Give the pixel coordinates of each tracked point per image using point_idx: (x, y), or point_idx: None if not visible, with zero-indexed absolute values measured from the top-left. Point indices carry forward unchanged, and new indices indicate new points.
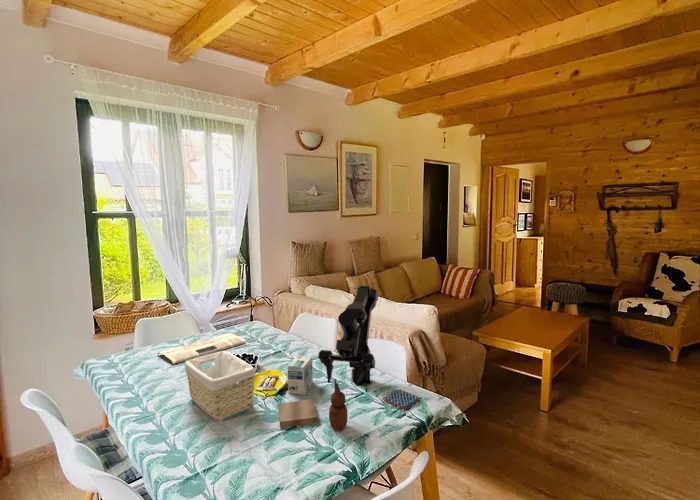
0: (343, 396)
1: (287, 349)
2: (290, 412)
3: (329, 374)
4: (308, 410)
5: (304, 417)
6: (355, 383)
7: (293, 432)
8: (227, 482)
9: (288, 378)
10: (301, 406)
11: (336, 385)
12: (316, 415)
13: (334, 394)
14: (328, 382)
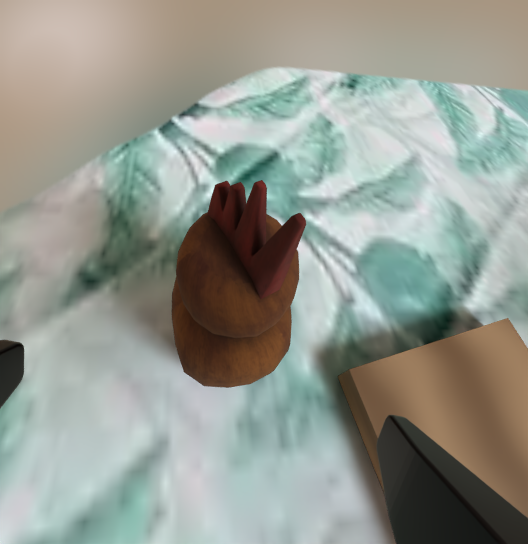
0: (190, 230)
1: None
2: (510, 411)
3: (448, 480)
4: None
5: (415, 361)
6: (11, 344)
7: (416, 297)
8: (470, 108)
9: None
10: None
11: (269, 240)
12: (360, 387)
13: (271, 231)
14: (390, 427)
